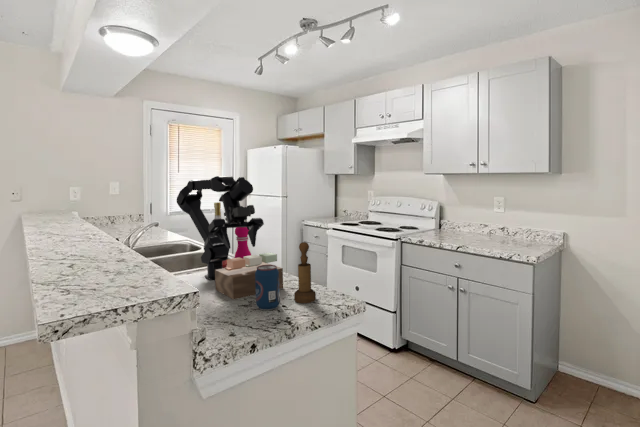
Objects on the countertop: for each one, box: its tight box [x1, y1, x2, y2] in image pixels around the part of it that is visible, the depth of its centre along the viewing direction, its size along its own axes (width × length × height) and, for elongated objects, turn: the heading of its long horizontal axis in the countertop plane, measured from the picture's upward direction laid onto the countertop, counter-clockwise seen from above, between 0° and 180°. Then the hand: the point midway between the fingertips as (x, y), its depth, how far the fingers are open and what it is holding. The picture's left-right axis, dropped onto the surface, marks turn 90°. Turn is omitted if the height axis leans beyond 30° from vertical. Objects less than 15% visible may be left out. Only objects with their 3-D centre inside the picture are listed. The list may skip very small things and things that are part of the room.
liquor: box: [213, 201, 227, 268], centre depth 158 cm, size 7×7×28 cm
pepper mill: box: [234, 227, 252, 259], centre depth 157 cm, size 7×7×20 cm
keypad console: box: [214, 262, 284, 300], centre depth 127 cm, size 14×18×7 cm
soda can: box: [255, 264, 281, 311], centre depth 108 cm, size 7×7×12 cm
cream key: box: [244, 254, 262, 266], centre depth 124 cm, size 4×4×2 cm
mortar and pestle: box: [293, 241, 317, 304], centre depth 114 cm, size 7×6×18 cm
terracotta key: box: [226, 257, 246, 269], centre depth 120 cm, size 4×4×2 cm
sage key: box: [258, 252, 278, 264], centre depth 128 cm, size 4×4×2 cm
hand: (242, 247), depth 127 cm, fingers open, 9 cm apart
